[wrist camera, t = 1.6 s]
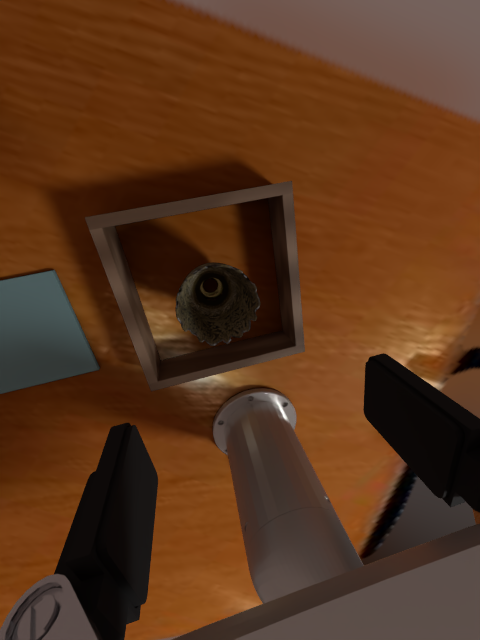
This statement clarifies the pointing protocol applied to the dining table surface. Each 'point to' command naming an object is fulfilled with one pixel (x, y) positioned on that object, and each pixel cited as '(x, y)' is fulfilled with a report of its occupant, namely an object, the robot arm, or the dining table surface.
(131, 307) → the grey square frame
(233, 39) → the dining table surface
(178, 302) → the dark rounded piece
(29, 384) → the light blue square plate
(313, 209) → the dining table surface
